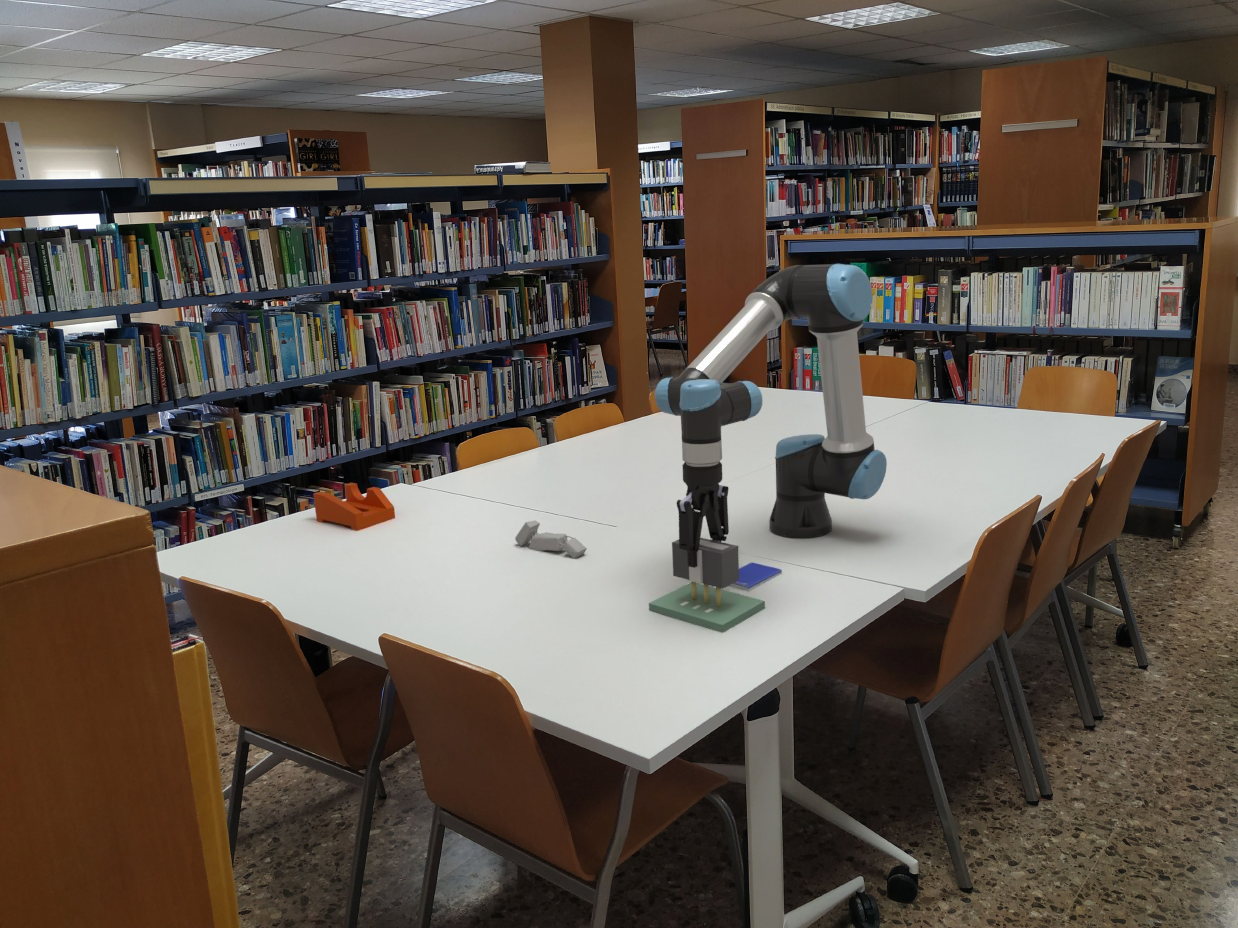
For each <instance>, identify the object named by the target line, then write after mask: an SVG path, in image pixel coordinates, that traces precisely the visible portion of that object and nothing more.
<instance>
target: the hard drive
mask: <svg viewBox="0 0 1238 928" xmlns="http://www.w3.org/2000/svg"><path fill="white" fill-rule="evenodd" d="M782 574H783V570H782V569H780V568H777V567H773V566H768V565H765V564H760V563H756V562H750V563H748V564H746V565H744V566H741V567H739V580H738V581H737V582H735V583H733V584H731V585H729V586H728V587H732V588H735V589H739V590H743V591H745V592H750V591H752V590H754V589H756V588H758V587H760V586H761V585H763V584H765V583H767V582H769V581H771V580H772V579H773V580H774V579H775V578H776V577H778V576H780V575H782Z"/></svg>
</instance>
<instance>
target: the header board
mask: <svg viewBox="0 0 1238 928" xmlns="http://www.w3.org/2000/svg"><path fill="white" fill-rule="evenodd" d="M765 608H766V601H765V600H763V599H759V598H755V597H752V596H747V595H744V594H740V593H736V592H732V591H728V590H726V589H722V588H718V587H714V586H710V585H706V584H702V583H701V584H700V583H696V582H693V581H690V582H689V583H687V584H685V585H682V586H681V587H679V588H676V589H675V590H673V591H671V592H669V593H666V594H664V595H662V596H660V597H658V598H657V599H655V600H653V601H651V602H649V603H648V610H649V611H650V612H653V613H654V612H655V613H657V614H660V615H664V616H666V617H670V618H674V619H678V620H680V621H684V622H687V623H691V624H694V625H697V626H701V627H703V628H706V629H711V630H714V631H716V632H720V633H725V632H726V631H728V630H729V629H731V628H733V627H735V626H737V625H738V624H740V623H742V622H744V621H745V620H746V619H748V618H750V617H752V616H754V615H755V614H757V613H759V612H760V611H762V610H764V609H765Z"/></svg>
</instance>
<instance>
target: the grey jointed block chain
mask: <svg viewBox="0 0 1238 928" xmlns="http://www.w3.org/2000/svg"><path fill="white" fill-rule="evenodd" d="M540 525H541V523H540V522H538V521H537V520H531V521H525V522H524V523H523V525H522V527H521V528H520V529H519V531H518V533H517V534H516V536H515V537H514V540H515V542H516V543H517V544H518V545H519V546H521V547H522V546H523V545H526V544H528V543H529V545H528V548H529V549H530V550H533V549H534V551H539V550H540V552H545V551H555V552H556V551H557V552H561V551H562V550H564V552H566V553H567V554H568V555H569V556H570V557H571V558H572V559H577V558H579V557H581V556H584V554H585V553H586V551H587V549H588V548H587V547H586V546H585V545H584V544H583V543H582V542H580V541H579V540H578V539H577V538H576V537H572V536H570V535H567V534H566V533H554V532H543V533H539V532H538V529H539V527H540ZM568 538H570V539H568Z"/></svg>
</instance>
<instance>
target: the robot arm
mask: <svg viewBox="0 0 1238 928" xmlns="http://www.w3.org/2000/svg"><path fill="white" fill-rule="evenodd" d="M871 304H873V288H872V285H871V282H870V279H869V277H868V275H867V273H865V271H864V270H862V269H861V267H858V265H854V264H843V263H831V264H830V263H828V264H825V263H823V264H796V265H791V266H788V267H786V268H783V269H781V270H780V271H777V272H776V273H774V274H772V275H771V276H769V277H767V279H765V280H763V281H762V282H761V283H760V284H759V285H758V286H757V287H756V288H754V290H752V291H751V292H750V294H749V295H748V296H746V298H745V302H744V306H743V308H742V309H740V311H739V312H737V314H736V315H735V316H734V317H733V318H732V319H731V320H730V322H729V323H727V325H725V327H724V328H723V329H722V330H721V331H720V332H719V333H718V334H717V335H716V336H715V338H713V339H712V340H711V341H710V343H708V345H707V346H706V347H705V348H704V349H703V350H702V351H701V352H699V354H698V356H697V357H696V358H695V359H693V361H692V362H691V363H689V364H688V366H687V367H686V368H685V369H684V371H682V372H681V373H680V375H679V376H677V377H674V376H671V377H665V378H663V379H661V380H660V381H659V382H658V384H657V385H656V387H655V390H654V400H655V401H654V402H655V404H656V407H657V408H658V410H660V411H661V412H662V413H665V414H669V415H672V416H676V417H680V428H681V449H682V450H681V451H682V453H681V454H682V456H681V457H682V461H683V462H684V463H683V464H682V482H683V483H684V484H685V485H686V486H687V487H686V488H687V490H686V493H685V497H684V498H683V499H677V500H676V508H677V510H678V540H679V548H680V549H682V550H687V556H688V566H689V581H690V582H691V581H693V582H696V583H699V584H702V583H703V572H702V550H699V544H700V538H702V537H701V535H702V529H703V522H704V517H705V520H706V523H707V529H708V533H709V537H710V539H709V540H714V541H718V542H726V541H727V536H728V534H729V531H730V528H729V510H728V495H729V486H726V485H720V483H721V482H722V481H723V463H722V462H721V461H722V459H723V447H722V445H723V444H722V427H725V426H728V425H731V424H732V425H733V424H735V423H738V422H739V423H740V422H745V421H747V420H750V419H751V418H754V417H755V416H757V415H758V414H759V413H760V412H761V410H762V406H763V395H762V392H761V390H760V388H759V387H758V385H756V384H755V383H754V382H752V381H749V380H743V381H741V380H737V381H735V382H732V383H731V382H724V381H725V380H726V379H727V378H728V377H729V376H730V374H731V373H732V372H733V371H734V370H735V369H736V368H737V367H738V366H739V364H740V363H741V362H743V360H744V359H745V358H746V357H747V356H748V354H749V353H750V352H751V351H753V349H754V348H755V347H756V346H757V345H758V343H759V342H760V341H761V340H763V338H764V337H765V336H766V335H767V334H768V332H769V331H771V330H776V329H778V328H779V327H780V326H781V325H782V324H783V323H785V322H786V321H789V320H793V319H800V320H801V319H802V320H803V319H804V320H807V324H808V332H810V333H811V334H812V335H813V336H815V337H816V342H817V350H818V360H819V367H820V369H819V370H820V377H821V379H820V380H821V387H822V395H823V396H822V397H823V405H824V407H823V408H824V415H825V424H826V433H827V436H826V438H825V436H824V435H822V434H817V433H816V434H815V433H814V434H813V433H811V434H800V435H799V434H798V435H794V436H793V435H792V436H790V437H789V436H787V437H784V438H783V439H781V440H779V441H778V442H777V443H776V447H775V457H774V459H775V488H776V489H775V491H776V493H775V494H776V496H775V501H774V504H773V508H772V511H771V513H770V517H769V521H768V522H769V531H770V532H772V533H773V534H776V535H777V536H782V537H784V538H785V537H786V538H793V539H794V538H796V539H807V538H808V539H809V538H810V539H811V538H818V537H823V536H825V535H827V534H829V533H831V532H832V530H833V519H832V517H831V514H830V510H829V507H828V504H827V502H826V498H825V497H826V496H825V494H826V495H827V494H828V495H832V496H833V495H834V496H838V497H843V498H845V497H846V498H848V499H853V500H854V499H857V500H869V499H871V498H872V497H874V496H875V495H876V494H877V492H879V490H880V489H881V487H882V484H883V482H884V479H885V478H886V473H887V465H888V463H887V457H886V455H885V454H884V452H883V451H881V450H879V449H875V443H874V442H875V441H874V440H875V439H874V437H873V436H872V435H870V434H869V433H868V432H867V427H866V419H865V418H866V417H865V409H864V408H865V406H864V405H865V403H864V395H863V393H864V392H863V385H862V384H863V382H862V374H861V373H862V372H861V363H860V353H859V342H858V332H859V330H860V329H861V328H862V327H863V325H864V319H866V318H867V317H868V315H869V314H870V312H871V310H872V306H871ZM693 544H694V545H693Z"/></svg>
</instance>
